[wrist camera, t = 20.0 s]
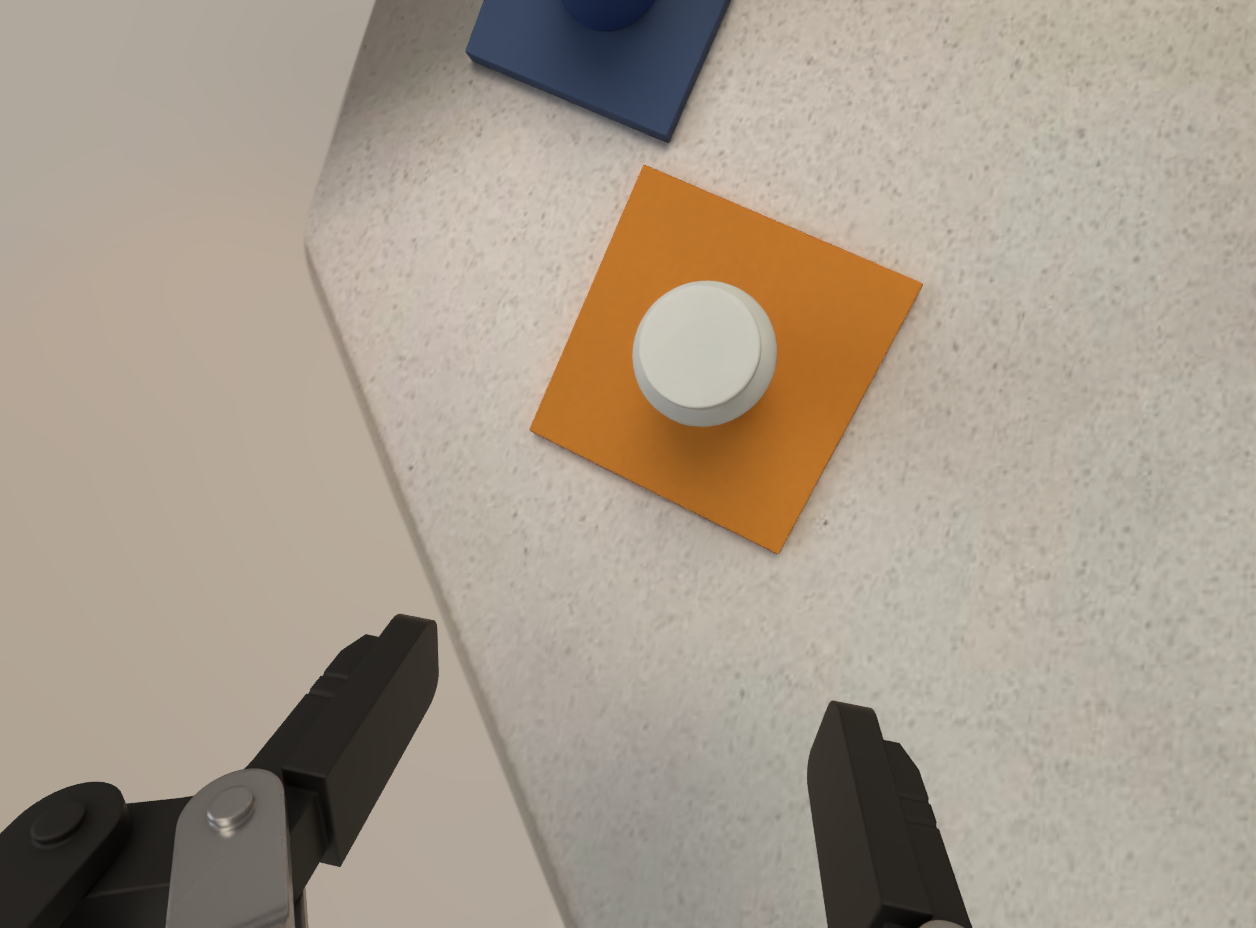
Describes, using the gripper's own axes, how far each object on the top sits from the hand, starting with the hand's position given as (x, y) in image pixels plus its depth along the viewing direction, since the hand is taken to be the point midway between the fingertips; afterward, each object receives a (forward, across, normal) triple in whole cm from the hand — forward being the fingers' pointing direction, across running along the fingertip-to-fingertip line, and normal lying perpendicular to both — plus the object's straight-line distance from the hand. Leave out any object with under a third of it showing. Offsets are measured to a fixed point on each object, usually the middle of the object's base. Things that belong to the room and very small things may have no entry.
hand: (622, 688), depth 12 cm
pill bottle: (+19, -1, -1) cm, 19 cm away
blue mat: (+26, +6, -17) cm, 32 cm away
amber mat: (+20, -1, -1) cm, 20 cm away
